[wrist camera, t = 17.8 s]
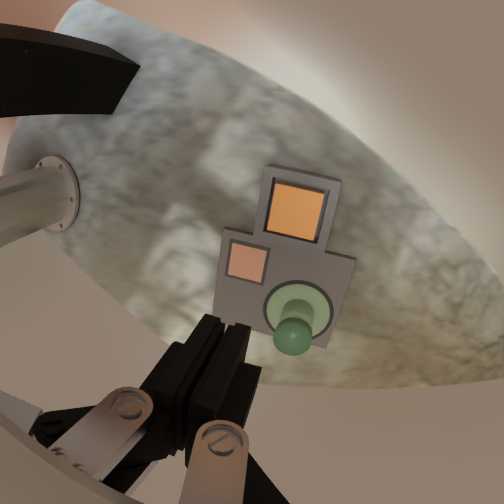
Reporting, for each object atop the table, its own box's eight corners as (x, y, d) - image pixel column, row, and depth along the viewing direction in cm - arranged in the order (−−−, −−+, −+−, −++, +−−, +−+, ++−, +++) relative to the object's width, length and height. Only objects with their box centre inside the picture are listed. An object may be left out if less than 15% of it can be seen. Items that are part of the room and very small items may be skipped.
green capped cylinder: (278, 322, 39) (269, 350, 34) (285, 294, 38) (277, 320, 32) (309, 330, 39) (305, 359, 33) (318, 302, 37) (315, 330, 32)
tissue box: (141, 66, 33) (-57, 34, 7) (112, 115, 36) (-82, 132, 10) (107, 45, 32) (-68, 18, 7) (81, 91, 36) (-92, 98, 10)
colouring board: (213, 315, 43) (211, 319, 42) (225, 227, 38) (223, 229, 37) (326, 344, 40) (325, 349, 39) (355, 258, 35) (356, 261, 34)
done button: (270, 223, 35) (267, 229, 33) (279, 180, 33) (275, 183, 31) (314, 234, 34) (313, 240, 32) (324, 190, 32) (324, 194, 30)
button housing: (258, 230, 37) (252, 237, 34) (270, 163, 34) (264, 165, 31) (324, 246, 36) (323, 255, 33) (340, 179, 33) (341, 182, 30)
